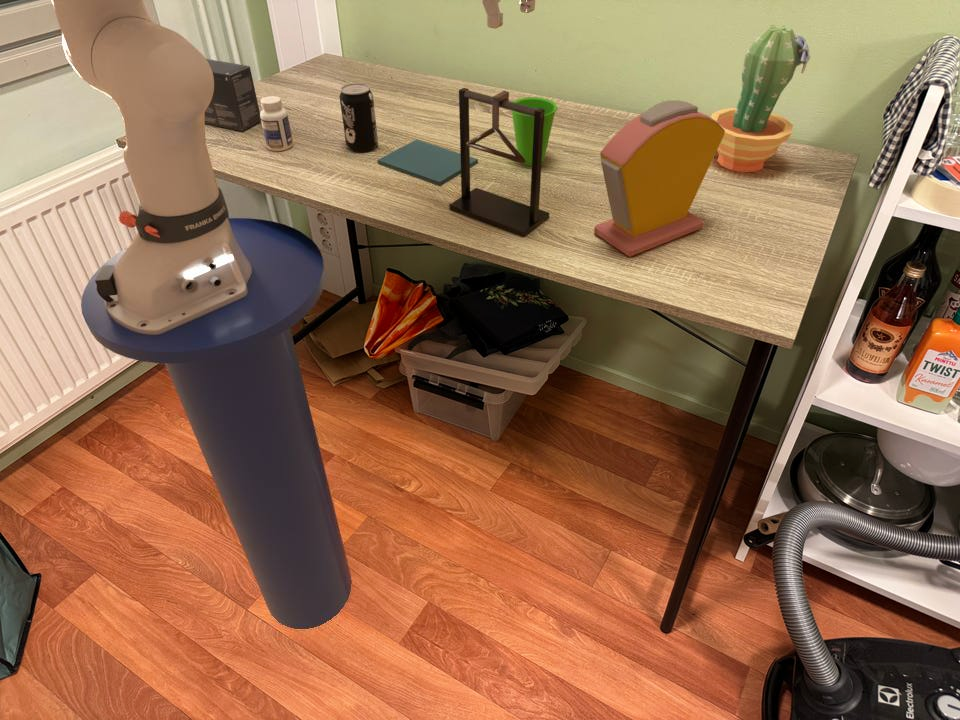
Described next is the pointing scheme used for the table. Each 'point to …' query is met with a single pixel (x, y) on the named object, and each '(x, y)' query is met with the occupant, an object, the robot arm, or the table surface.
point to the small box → (232, 97)
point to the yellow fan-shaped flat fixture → (656, 175)
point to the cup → (532, 126)
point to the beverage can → (358, 117)
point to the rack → (491, 205)
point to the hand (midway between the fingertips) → (511, 19)
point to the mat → (426, 162)
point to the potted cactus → (760, 100)
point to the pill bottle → (275, 124)
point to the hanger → (495, 128)
